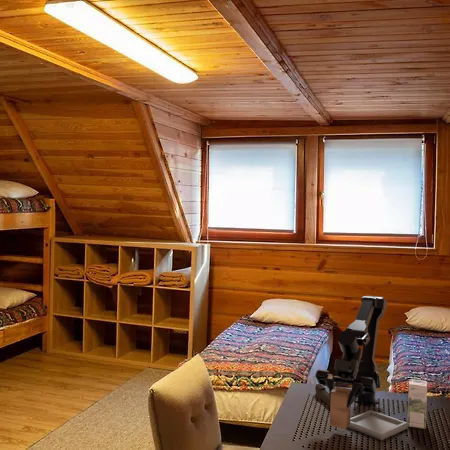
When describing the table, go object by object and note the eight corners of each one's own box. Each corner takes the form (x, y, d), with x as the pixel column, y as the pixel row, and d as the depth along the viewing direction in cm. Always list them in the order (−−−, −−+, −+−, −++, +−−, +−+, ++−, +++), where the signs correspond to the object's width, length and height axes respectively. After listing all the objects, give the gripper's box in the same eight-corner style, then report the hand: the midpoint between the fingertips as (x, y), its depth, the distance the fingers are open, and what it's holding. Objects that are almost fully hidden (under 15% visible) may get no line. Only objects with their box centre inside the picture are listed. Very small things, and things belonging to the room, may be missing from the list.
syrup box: (425, 423, 190) (427, 380, 189) (425, 429, 184) (427, 385, 184) (407, 420, 192) (408, 378, 191) (407, 427, 186) (408, 383, 185)
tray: (370, 415, 196) (370, 410, 195) (407, 428, 185) (407, 422, 185) (345, 426, 186) (345, 420, 186) (382, 440, 176) (382, 434, 176)
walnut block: (335, 420, 184) (335, 386, 183) (350, 423, 181) (351, 389, 181) (330, 425, 179) (330, 391, 179) (345, 429, 177) (346, 394, 176)
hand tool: (343, 412, 199) (343, 399, 199) (332, 413, 198) (332, 399, 198) (323, 393, 218) (323, 381, 218) (313, 394, 217) (313, 382, 217)
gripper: (317, 344, 187) (304, 387, 178) (374, 352, 178) (364, 398, 169) (325, 362, 194) (313, 404, 185) (380, 371, 185) (370, 415, 176)
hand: (339, 405), depth 179 cm, fingers closed on walnut block, 5 cm apart
